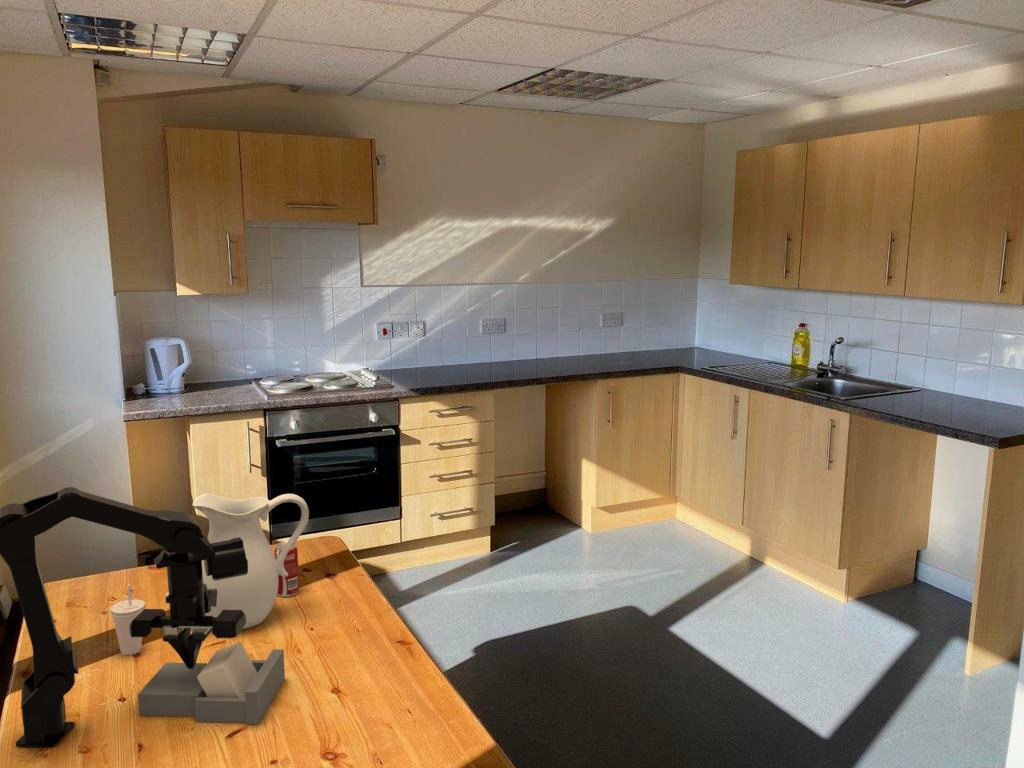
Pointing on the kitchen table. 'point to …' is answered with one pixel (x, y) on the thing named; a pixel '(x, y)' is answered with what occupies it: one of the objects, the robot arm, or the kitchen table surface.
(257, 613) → the pitcher
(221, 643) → the kitchen table surface
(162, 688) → the stand
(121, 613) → the smoothie
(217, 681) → the carton
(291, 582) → the soda can
